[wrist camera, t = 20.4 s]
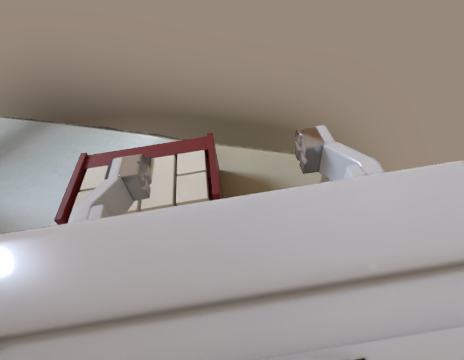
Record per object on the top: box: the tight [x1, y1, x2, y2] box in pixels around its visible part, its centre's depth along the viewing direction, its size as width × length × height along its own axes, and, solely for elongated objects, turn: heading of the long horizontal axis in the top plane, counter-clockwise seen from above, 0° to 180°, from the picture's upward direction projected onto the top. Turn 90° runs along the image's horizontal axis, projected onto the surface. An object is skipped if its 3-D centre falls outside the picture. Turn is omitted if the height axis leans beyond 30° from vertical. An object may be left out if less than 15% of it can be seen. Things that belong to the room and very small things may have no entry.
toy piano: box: [54, 133, 223, 225], centre depth 39 cm, size 19×12×7 cm, turn 97°
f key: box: [176, 172, 210, 206], centre depth 35 cm, size 4×4×1 cm
